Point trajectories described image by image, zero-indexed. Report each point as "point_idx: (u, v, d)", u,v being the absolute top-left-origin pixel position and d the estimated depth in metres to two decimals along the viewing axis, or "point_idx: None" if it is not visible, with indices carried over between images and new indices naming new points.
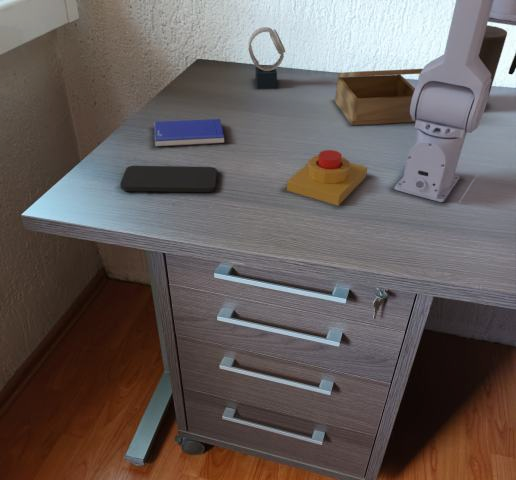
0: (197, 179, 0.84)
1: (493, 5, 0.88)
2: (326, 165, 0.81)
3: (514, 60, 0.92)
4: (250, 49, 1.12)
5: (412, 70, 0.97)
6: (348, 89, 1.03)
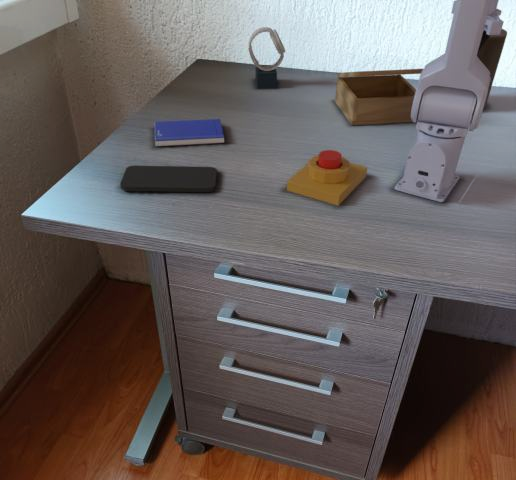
0: (197, 179, 0.84)
1: None
2: (326, 165, 0.81)
3: None
4: (250, 49, 1.12)
5: (412, 70, 0.97)
6: (348, 89, 1.03)
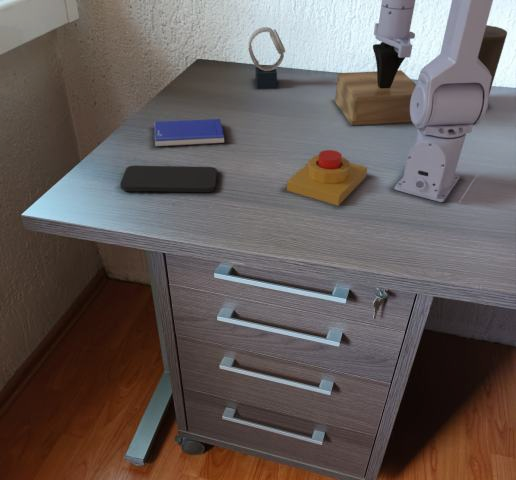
0: (197, 179, 0.84)
1: None
2: (326, 165, 0.81)
3: (379, 75, 0.99)
4: (250, 49, 1.12)
5: (409, 95, 0.99)
6: None
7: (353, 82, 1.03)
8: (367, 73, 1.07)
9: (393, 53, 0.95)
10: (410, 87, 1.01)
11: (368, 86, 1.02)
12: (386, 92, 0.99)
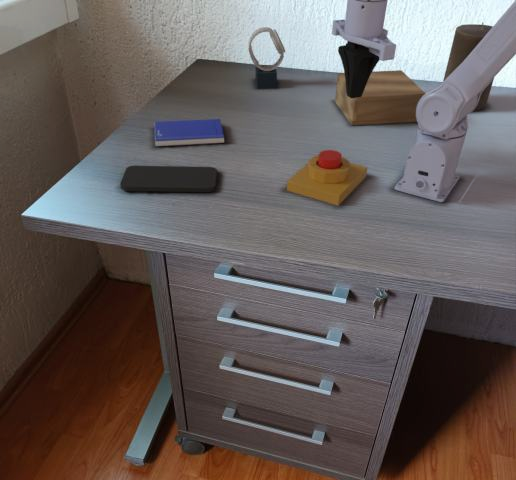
0: (197, 179, 0.84)
1: None
2: (326, 165, 0.81)
3: (349, 82, 0.82)
4: (250, 49, 1.12)
5: (409, 95, 0.99)
6: None
7: None
8: None
9: (367, 55, 0.78)
10: (410, 87, 1.01)
11: (368, 86, 1.02)
12: (386, 92, 0.99)
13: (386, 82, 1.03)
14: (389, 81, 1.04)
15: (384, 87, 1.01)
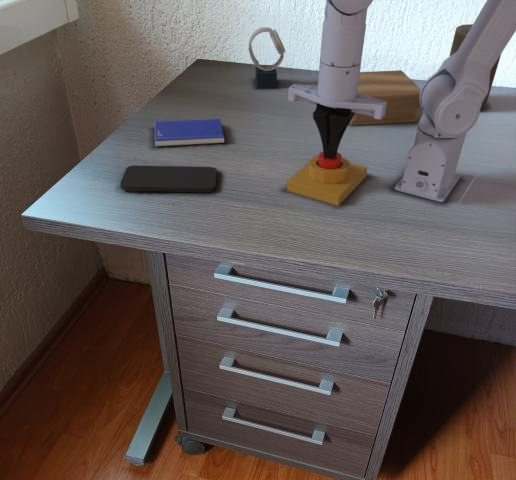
0: (197, 179, 0.84)
1: (318, 89, 0.74)
2: (326, 166, 0.82)
3: (330, 144, 0.79)
4: (250, 49, 1.12)
5: (409, 95, 0.99)
6: None
7: None
8: (367, 73, 1.07)
9: (350, 116, 0.76)
10: (410, 87, 1.01)
11: (368, 86, 1.02)
12: (386, 92, 0.99)
13: (386, 82, 1.03)
14: (389, 81, 1.04)
15: (384, 87, 1.01)
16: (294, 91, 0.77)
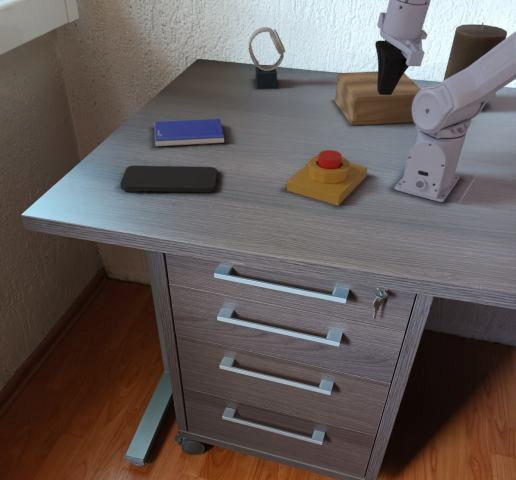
0: (197, 179, 0.84)
1: None
2: (326, 165, 0.81)
3: (380, 78, 0.83)
4: (250, 49, 1.12)
5: (409, 95, 0.99)
6: None
7: (353, 82, 1.03)
8: (367, 73, 1.07)
9: (399, 56, 0.79)
10: (410, 87, 1.01)
11: (368, 86, 1.02)
12: None
13: None
14: None
15: None
16: (380, 17, 0.82)
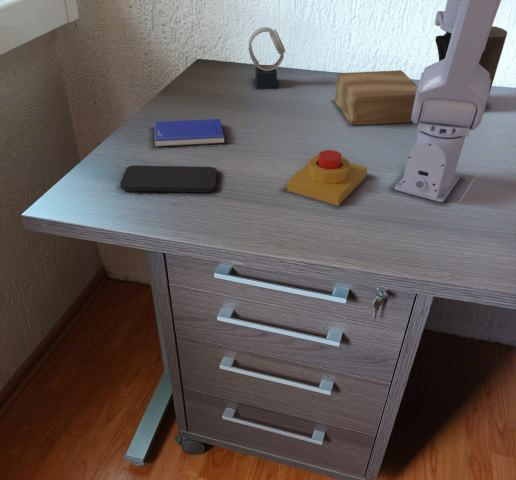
0: (197, 179, 0.84)
1: None
2: (326, 165, 0.81)
3: None
4: (250, 49, 1.12)
5: (409, 95, 0.99)
6: None
7: (353, 82, 1.03)
8: (367, 73, 1.07)
9: None
10: (410, 87, 1.01)
11: (368, 86, 1.02)
12: (386, 92, 0.99)
13: (386, 82, 1.03)
14: (389, 81, 1.04)
15: (384, 87, 1.01)
16: (438, 15, 0.87)
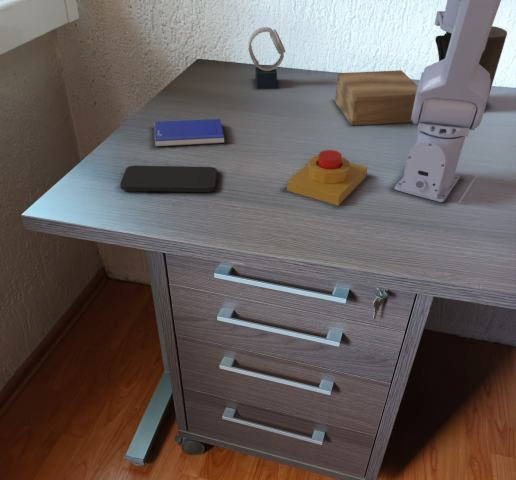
0: (197, 179, 0.84)
1: None
2: (326, 165, 0.81)
3: None
4: (250, 49, 1.12)
5: (409, 95, 0.99)
6: None
7: (353, 82, 1.03)
8: (367, 73, 1.07)
9: None
10: (410, 87, 1.01)
11: (368, 86, 1.02)
12: (386, 92, 0.99)
13: (386, 82, 1.03)
14: (389, 81, 1.04)
15: (384, 87, 1.01)
16: (438, 15, 0.87)
